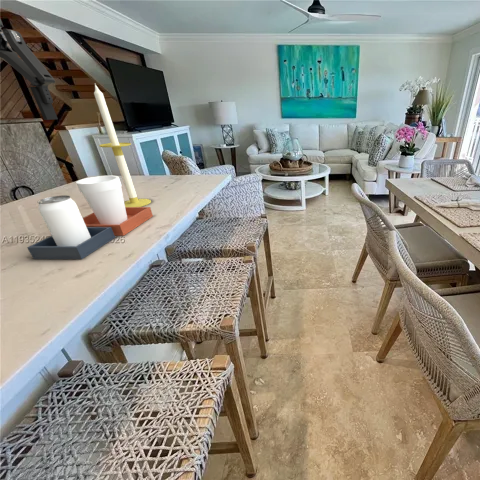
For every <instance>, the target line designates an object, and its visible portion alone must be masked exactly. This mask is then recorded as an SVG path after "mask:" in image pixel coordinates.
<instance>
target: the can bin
mask: <svg viewBox="0 0 480 480" xmlns="http://www.w3.org/2000/svg"><path fill="white" fill-rule="evenodd" d="M87 229H88V232H89V234H90V236H91V238H89V239H88V240H86V241H84V242H82V243H81V244H79V245H77V246H57V245H56V243H55V241H54V239H53V237H52V235H50V236H48V237H46V238H44V239H42V240H39V241H37V242H35V243H33V244H31V245H29V246H27V247H26V249H27V250H28V252H29V254H30V256H31V257H32V259H33V260H83V259H85V258H86V257H88V256H89V255H91V254H93V253H94V252H96V251H97V250H99V249H100V248H102V247H103V246H105V245H106V244H107V243H109V242H110V241H112V240H114V239H115V238H116V236H115V235H114V233H113V230H112V228H111V227H87Z"/></svg>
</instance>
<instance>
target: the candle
mask: <svg viewBox="0 0 480 480" xmlns="http://www.w3.org/2000/svg"><path fill="white" fill-rule="evenodd" d="M93 95H94V98H95V101H96V104H97V106H98V110H99V113H100V117H101V118H102V121H103V125H104V127H105V130H106V133H107V136H108V139H109V142H108V143H102V144H99V145H98V147H101V148H111V150H112V153H113V156H114V159H115V161H116V164H117V167H118V170H119V173H120V177H121V180H122V182H123V185H124V189H125V191H126V194H127V196H128V200H124V204H125V207H146V206H148V205H149V204H151V203H152V200H151V199H150V198H138V195H137V192H136V189H135V186H134V182H133V180H132V176H131V173H130V171H129V168H128V165H127V161H126V159H125V155H124V152H123V149H122V147H128V146H131V145H132V142H119V139H118V136H117V132H116V129H115V127H114V123H113V121H112V118H111V114H110V111H109V108H108V106H107V102H106V99H105V96H104V93H103V92H102V91H101V90H100V89H99V87H98V86H97V84H96V83H94V92H93Z"/></svg>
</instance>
